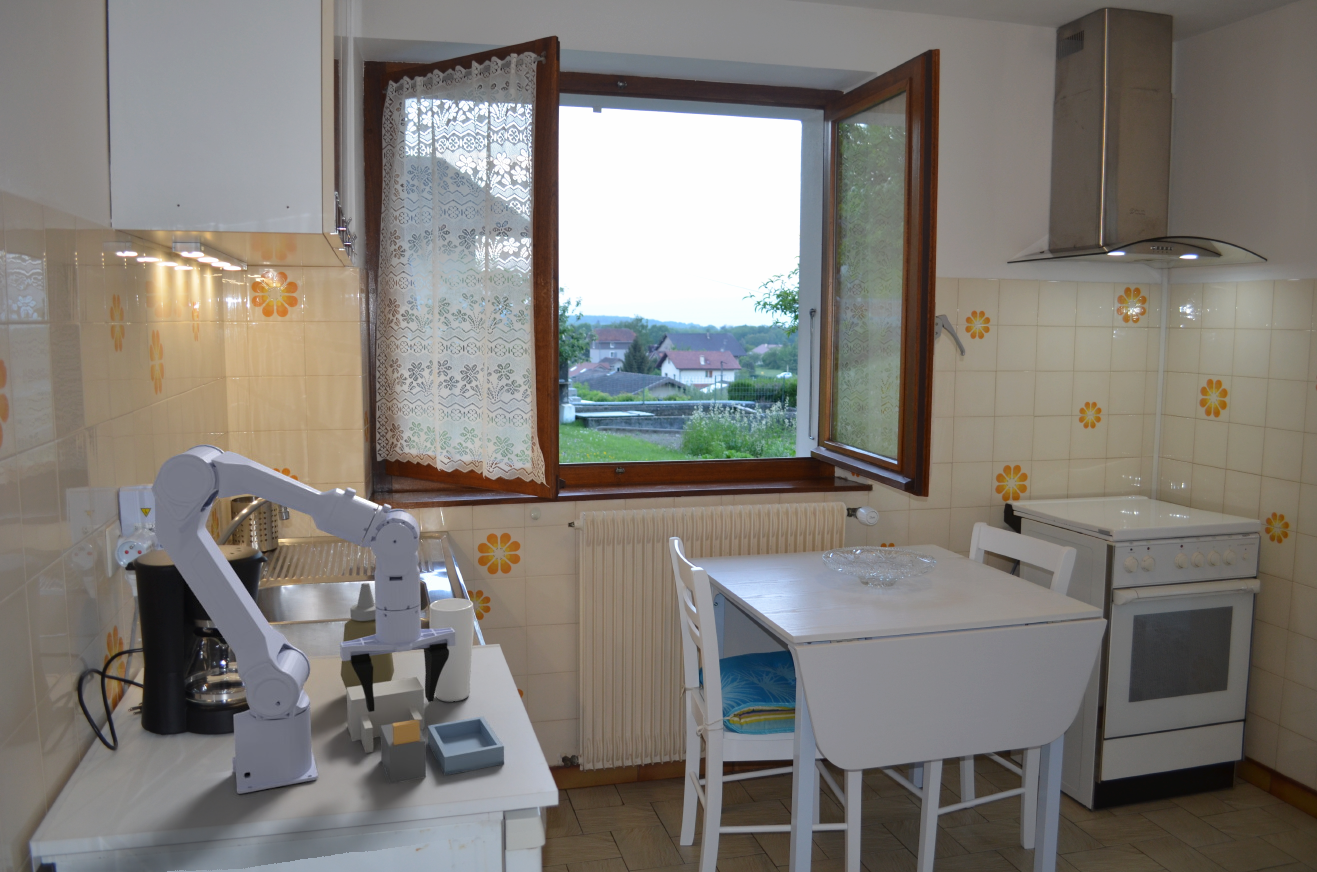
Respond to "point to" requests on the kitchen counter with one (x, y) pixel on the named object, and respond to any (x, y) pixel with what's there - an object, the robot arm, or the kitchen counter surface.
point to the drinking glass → (458, 665)
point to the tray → (465, 745)
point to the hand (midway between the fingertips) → (400, 703)
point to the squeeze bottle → (363, 627)
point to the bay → (384, 708)
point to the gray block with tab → (403, 751)
